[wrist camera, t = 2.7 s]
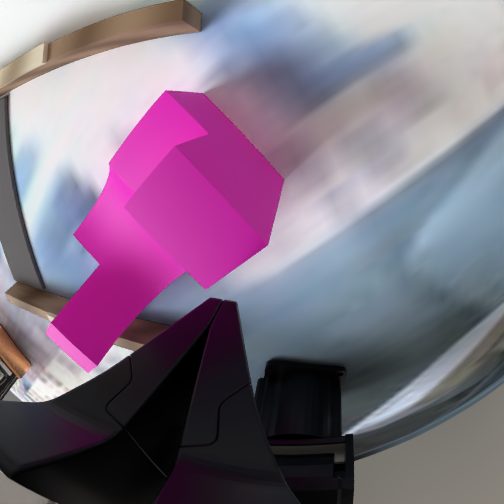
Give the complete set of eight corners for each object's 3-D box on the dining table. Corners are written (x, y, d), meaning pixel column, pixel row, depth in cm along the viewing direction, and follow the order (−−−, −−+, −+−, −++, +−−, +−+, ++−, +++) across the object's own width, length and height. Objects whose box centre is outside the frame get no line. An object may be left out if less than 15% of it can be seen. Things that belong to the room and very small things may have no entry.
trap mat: (7, 96, 13) (4, 97, 13) (45, 288, 23) (42, 290, 22) (-18, 111, 14) (-21, 112, 14) (16, 278, 23) (14, 280, 23)
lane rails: (202, 11, 10) (180, -6, 8) (207, 344, 21) (197, 372, 19) (-18, 96, 13) (-40, 102, 11) (21, 290, 24) (7, 304, 22)
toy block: (204, 93, 13) (119, 89, 6) (284, 178, 14) (268, 245, 8) (81, 248, 19) (19, 305, 13) (135, 303, 21) (88, 372, 14)
